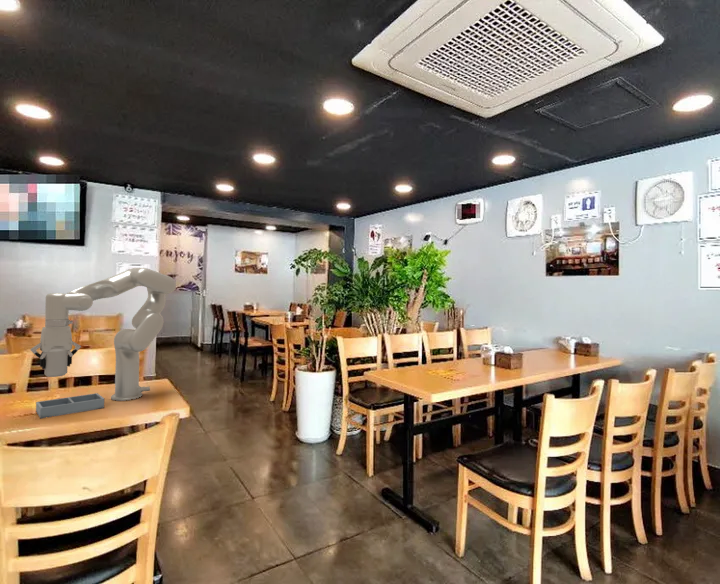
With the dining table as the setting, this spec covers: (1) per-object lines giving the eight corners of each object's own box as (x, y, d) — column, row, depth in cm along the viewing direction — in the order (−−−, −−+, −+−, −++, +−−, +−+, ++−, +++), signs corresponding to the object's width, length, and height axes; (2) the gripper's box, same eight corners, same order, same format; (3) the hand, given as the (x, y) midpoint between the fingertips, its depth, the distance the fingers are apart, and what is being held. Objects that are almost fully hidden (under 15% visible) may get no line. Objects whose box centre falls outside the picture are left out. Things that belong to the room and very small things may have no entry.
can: (61, 377, 162) (61, 347, 162) (40, 377, 161) (40, 347, 161) (71, 373, 169) (71, 344, 169) (51, 373, 168) (51, 344, 168)
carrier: (97, 402, 181) (97, 393, 180) (104, 407, 173) (104, 398, 173) (36, 411, 165) (36, 401, 165) (40, 418, 158) (40, 408, 157)
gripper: (80, 322, 174) (79, 363, 174) (28, 323, 161) (27, 368, 162) (84, 323, 168) (83, 366, 169) (30, 325, 156) (29, 371, 156)
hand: (56, 367), depth 165 cm, fingers closed on can, 7 cm apart
